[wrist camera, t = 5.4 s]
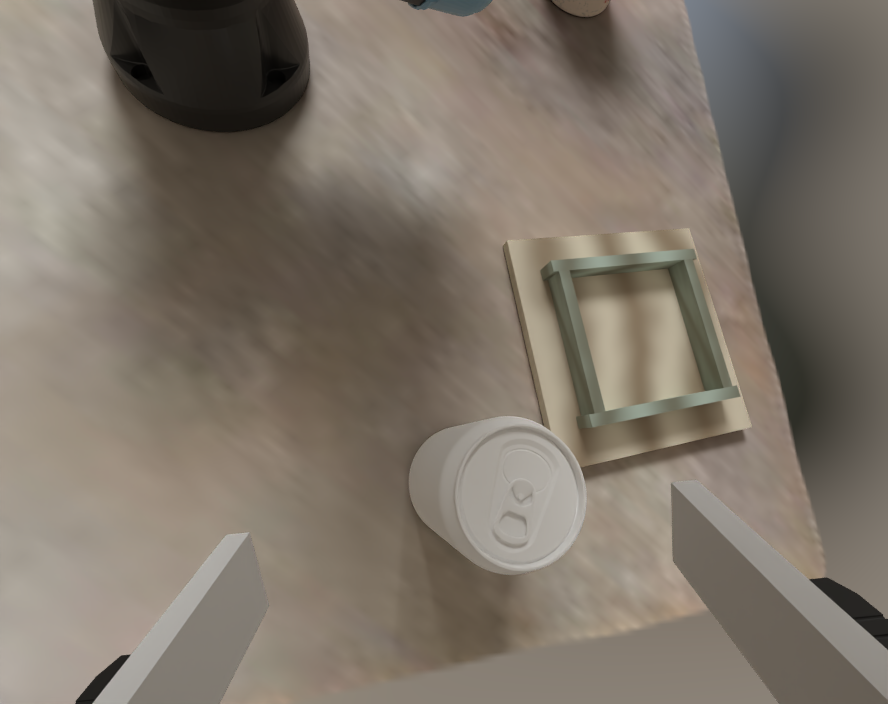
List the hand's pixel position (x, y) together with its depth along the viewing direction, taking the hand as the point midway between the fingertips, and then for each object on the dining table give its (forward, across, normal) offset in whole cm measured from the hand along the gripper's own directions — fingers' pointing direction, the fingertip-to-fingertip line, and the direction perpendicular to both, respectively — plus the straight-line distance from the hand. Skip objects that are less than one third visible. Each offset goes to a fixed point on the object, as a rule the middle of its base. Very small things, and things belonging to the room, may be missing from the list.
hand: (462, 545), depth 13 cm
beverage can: (+18, -1, -8) cm, 20 cm away
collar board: (+27, +16, -1) cm, 31 cm away
